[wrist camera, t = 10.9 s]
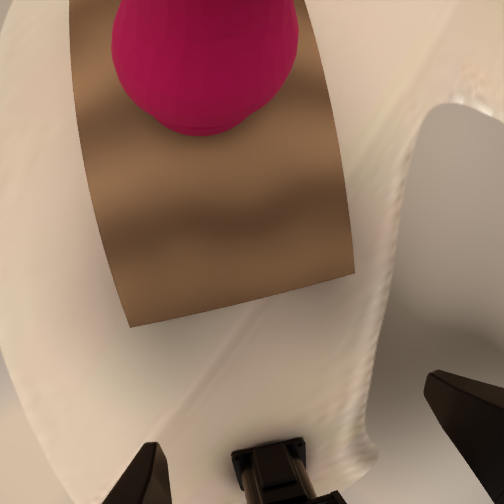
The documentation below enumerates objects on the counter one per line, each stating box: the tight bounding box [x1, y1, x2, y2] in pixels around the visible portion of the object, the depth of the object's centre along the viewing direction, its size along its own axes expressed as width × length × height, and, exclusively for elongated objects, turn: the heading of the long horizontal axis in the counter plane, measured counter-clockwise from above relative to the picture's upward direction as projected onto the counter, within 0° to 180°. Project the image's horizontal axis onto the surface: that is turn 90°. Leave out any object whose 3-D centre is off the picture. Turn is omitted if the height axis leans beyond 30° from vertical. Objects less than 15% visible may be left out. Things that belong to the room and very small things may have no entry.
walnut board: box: [69, 0, 355, 328], centre depth 17 cm, size 22×14×2 cm, turn 11°
